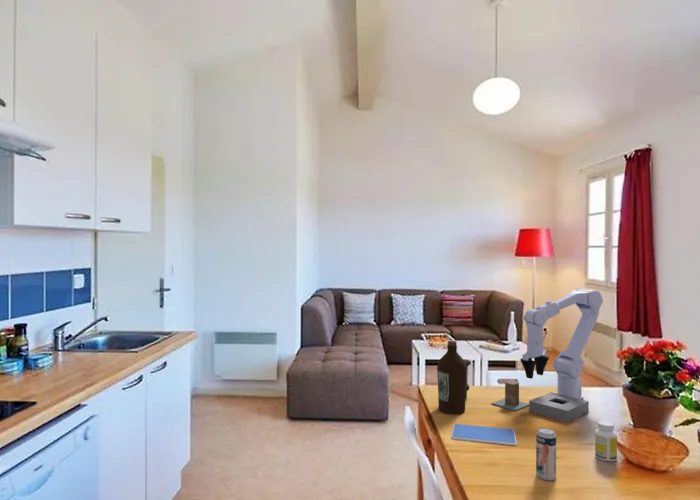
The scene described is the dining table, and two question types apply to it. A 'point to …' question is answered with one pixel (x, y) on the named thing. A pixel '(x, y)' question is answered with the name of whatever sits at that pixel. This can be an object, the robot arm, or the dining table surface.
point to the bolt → (466, 379)
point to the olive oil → (452, 381)
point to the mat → (515, 408)
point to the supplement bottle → (606, 442)
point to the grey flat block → (559, 406)
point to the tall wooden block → (511, 393)
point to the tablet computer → (484, 434)
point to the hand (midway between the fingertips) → (534, 376)
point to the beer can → (546, 454)
